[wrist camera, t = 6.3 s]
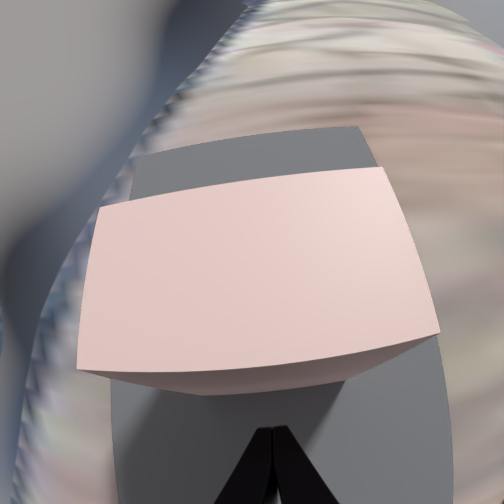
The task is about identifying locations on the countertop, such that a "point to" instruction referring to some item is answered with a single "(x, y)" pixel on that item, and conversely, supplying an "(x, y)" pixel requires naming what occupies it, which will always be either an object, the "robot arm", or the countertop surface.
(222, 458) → the charcoal mat
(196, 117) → the countertop surface
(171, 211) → the blush block
